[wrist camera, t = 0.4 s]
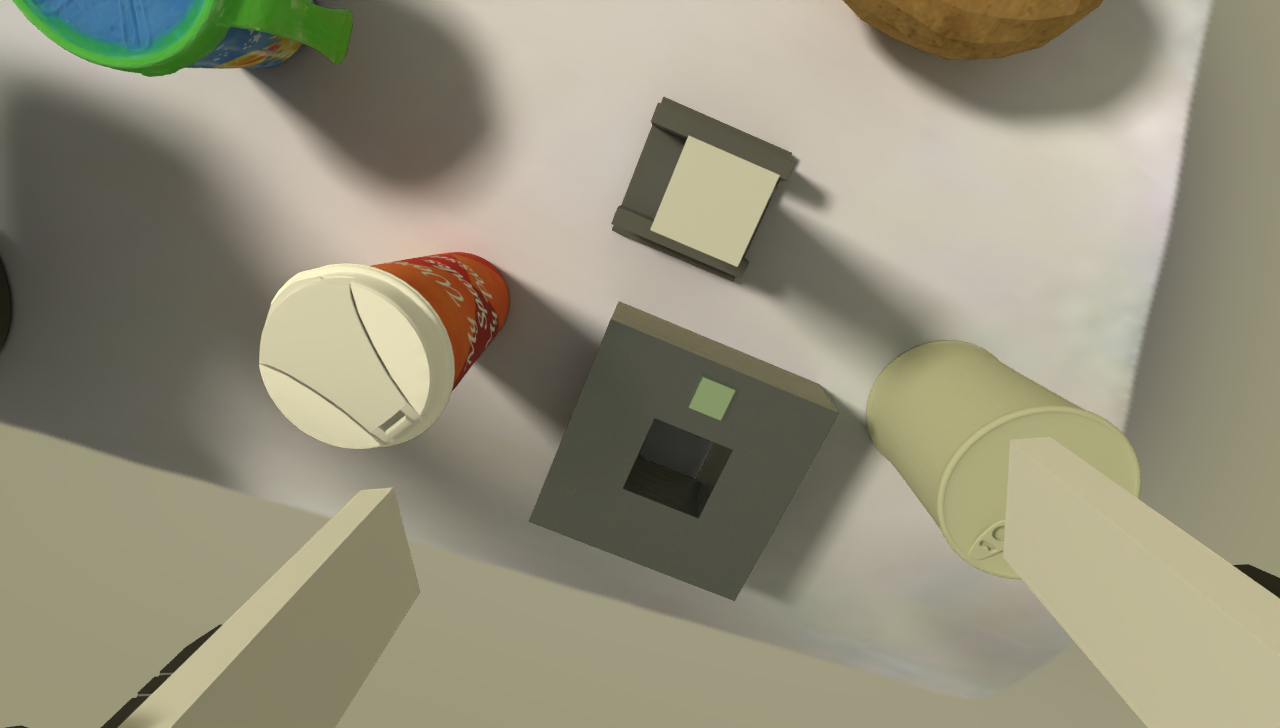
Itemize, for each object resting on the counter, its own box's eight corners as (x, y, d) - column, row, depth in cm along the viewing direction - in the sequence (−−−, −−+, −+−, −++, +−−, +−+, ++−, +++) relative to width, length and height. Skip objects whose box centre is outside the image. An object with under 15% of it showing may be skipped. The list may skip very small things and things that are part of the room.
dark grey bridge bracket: (612, 229, 37) (607, 233, 35) (663, 97, 35) (662, 91, 32) (732, 279, 38) (736, 288, 35) (790, 153, 36) (800, 151, 33)
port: (545, 482, 43) (527, 524, 38) (618, 301, 39) (610, 320, 34) (728, 554, 44) (734, 604, 39) (819, 384, 40) (840, 414, 35)
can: (835, 420, 40) (899, 517, 29) (936, 310, 38) (1049, 369, 26) (939, 497, 42) (1040, 620, 30) (1043, 395, 39) (1196, 487, 28)
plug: (659, 209, 36) (650, 229, 23) (683, 150, 35) (688, 135, 22) (715, 233, 37) (737, 267, 23) (740, 175, 36) (779, 175, 22)
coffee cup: (554, 311, 39) (484, 389, 25) (460, 383, 41) (344, 495, 27) (467, 203, 38) (338, 221, 23) (373, 284, 39) (200, 346, 25)
